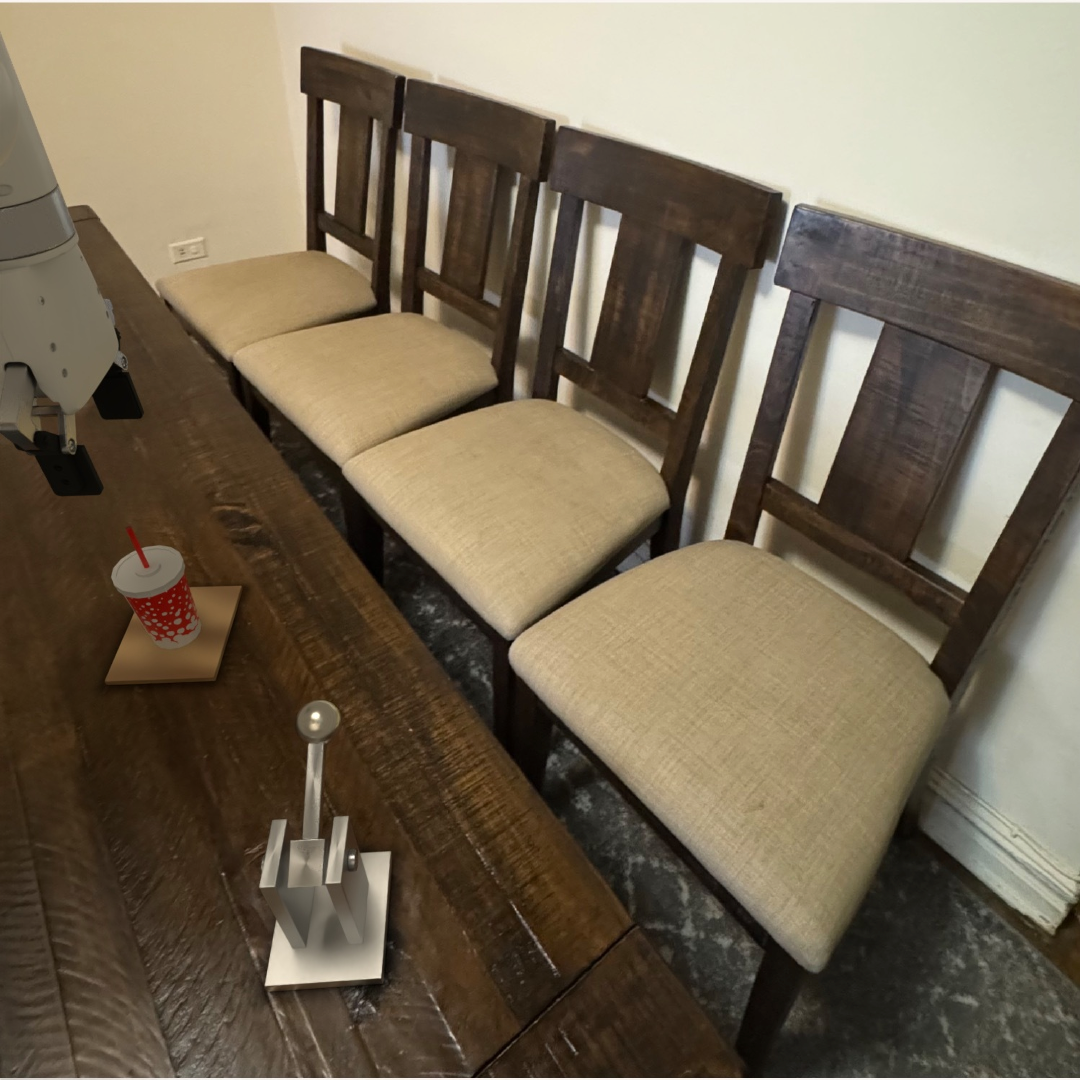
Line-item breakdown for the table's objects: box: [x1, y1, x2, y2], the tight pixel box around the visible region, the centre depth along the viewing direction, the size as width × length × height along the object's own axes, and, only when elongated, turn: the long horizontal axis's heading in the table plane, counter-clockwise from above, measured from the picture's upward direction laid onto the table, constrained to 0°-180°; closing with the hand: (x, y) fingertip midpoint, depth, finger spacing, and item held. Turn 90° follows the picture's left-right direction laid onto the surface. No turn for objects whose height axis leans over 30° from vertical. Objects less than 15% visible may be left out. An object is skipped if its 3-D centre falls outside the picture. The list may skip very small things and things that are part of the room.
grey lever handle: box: [287, 699, 343, 888], centre depth 50 cm, size 12×3×3 cm, turn 4°
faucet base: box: [258, 815, 393, 992], centre depth 51 cm, size 9×8×12 cm
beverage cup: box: [110, 525, 201, 649], centre depth 69 cm, size 6×6×14 cm
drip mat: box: [104, 585, 244, 686], centre depth 75 cm, size 12×10×1 cm
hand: (103, 453), depth 56 cm, fingers open, 9 cm apart
